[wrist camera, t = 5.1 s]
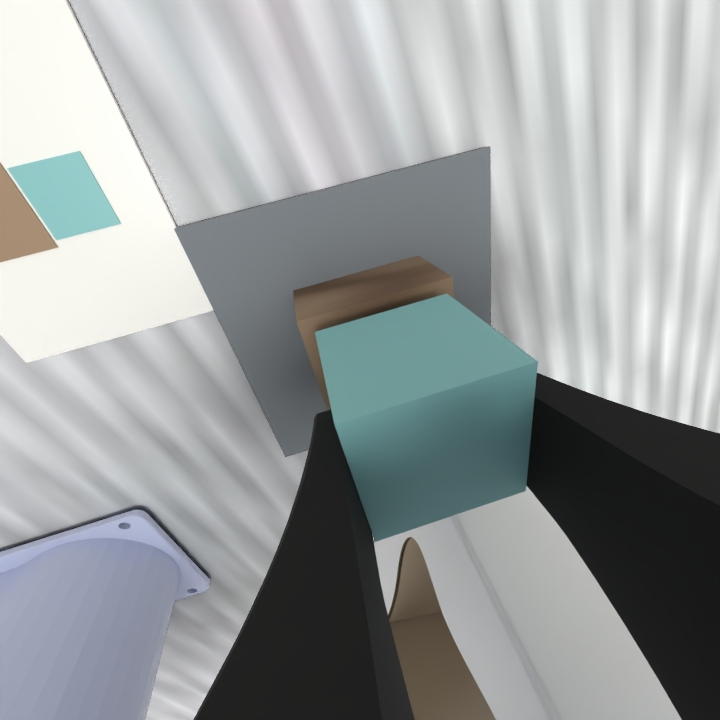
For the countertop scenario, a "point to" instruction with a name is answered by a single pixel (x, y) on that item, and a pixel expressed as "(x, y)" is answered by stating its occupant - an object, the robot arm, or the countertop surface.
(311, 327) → the walnut block
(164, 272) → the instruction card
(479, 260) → the build mat
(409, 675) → the gable box
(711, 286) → the countertop surface
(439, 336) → the teal cube
